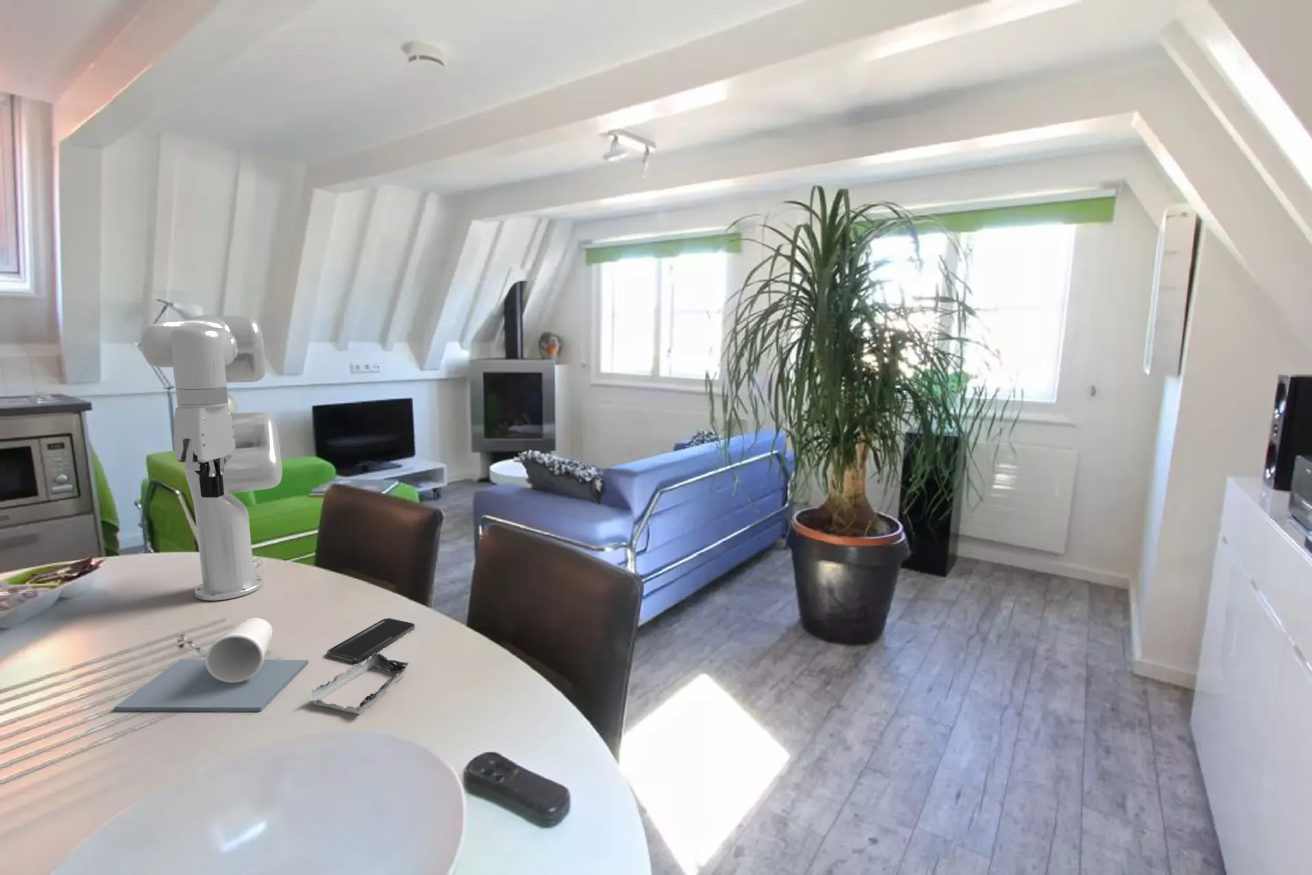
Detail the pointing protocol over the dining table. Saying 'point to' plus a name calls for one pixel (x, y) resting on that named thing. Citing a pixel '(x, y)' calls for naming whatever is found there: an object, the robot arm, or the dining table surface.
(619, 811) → the dining table surface
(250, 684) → the slate mat
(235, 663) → the dixie cup
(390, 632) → the phone
